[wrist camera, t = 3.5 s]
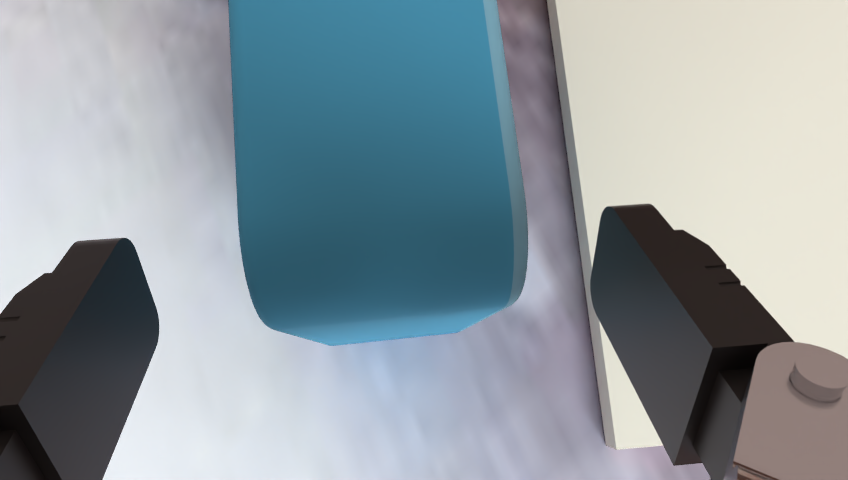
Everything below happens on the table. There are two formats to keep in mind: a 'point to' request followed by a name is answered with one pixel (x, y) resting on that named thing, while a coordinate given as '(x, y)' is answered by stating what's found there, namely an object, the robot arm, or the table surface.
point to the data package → (375, 166)
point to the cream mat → (713, 152)
